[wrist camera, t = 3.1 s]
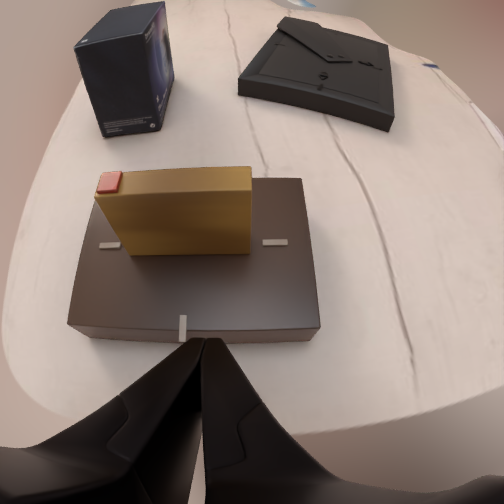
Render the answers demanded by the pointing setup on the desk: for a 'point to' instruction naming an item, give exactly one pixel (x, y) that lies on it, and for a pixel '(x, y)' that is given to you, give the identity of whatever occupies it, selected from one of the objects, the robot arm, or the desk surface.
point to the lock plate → (204, 281)
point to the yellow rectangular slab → (179, 210)
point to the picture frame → (323, 73)
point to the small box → (128, 68)
